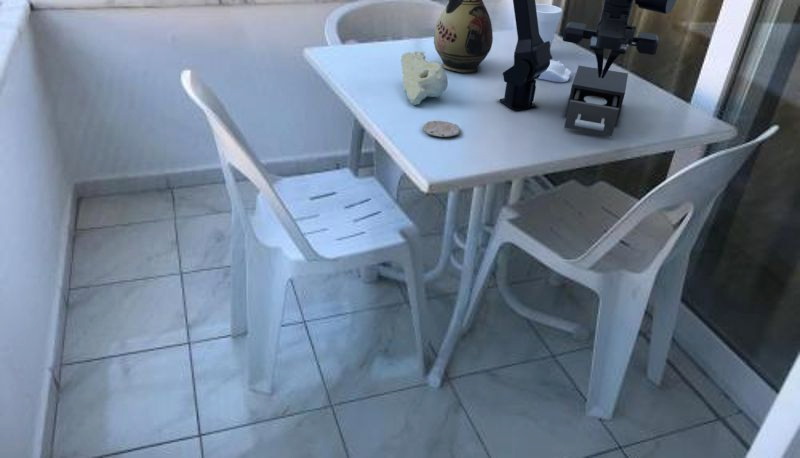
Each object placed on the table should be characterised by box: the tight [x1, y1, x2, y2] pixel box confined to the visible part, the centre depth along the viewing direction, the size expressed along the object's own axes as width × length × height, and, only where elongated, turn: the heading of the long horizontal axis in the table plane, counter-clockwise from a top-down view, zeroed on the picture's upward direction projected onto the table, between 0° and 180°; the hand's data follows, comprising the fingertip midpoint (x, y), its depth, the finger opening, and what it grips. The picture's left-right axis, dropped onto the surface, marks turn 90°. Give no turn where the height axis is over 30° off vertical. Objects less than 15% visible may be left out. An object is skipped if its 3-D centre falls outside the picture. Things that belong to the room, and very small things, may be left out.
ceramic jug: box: [433, 0, 494, 74], centre depth 165 cm, size 17×15×30 cm
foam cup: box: [536, 3, 563, 49], centre depth 182 cm, size 10×9×13 cm
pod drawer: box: [563, 89, 619, 138], centre depth 142 cm, size 17×10×6 cm, turn 161°
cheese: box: [400, 50, 449, 106], centre depth 154 cm, size 15×7×15 cm
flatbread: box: [422, 120, 460, 138], centre depth 139 cm, size 8×8×1 cm
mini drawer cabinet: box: [564, 65, 629, 127], centre depth 151 cm, size 14×12×8 cm
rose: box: [538, 60, 572, 83], centre depth 170 cm, size 10×4×10 cm
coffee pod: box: [584, 96, 607, 105], centre depth 142 cm, size 5×5×5 cm
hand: (601, 77), depth 138 cm, fingers closed
